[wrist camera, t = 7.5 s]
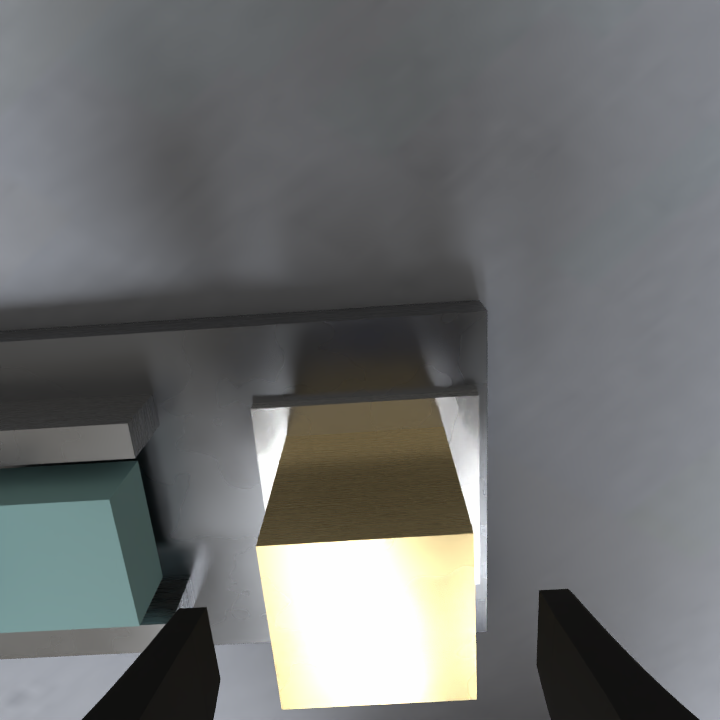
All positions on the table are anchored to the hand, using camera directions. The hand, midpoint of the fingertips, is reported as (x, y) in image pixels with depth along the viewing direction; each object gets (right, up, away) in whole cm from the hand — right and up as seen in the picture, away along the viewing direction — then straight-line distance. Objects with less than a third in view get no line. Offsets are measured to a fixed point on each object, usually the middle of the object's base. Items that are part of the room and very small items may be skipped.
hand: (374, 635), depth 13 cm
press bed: (-6, +2, +7) cm, 9 cm away
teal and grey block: (-9, +1, +5) cm, 11 cm away
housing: (0, +2, +5) cm, 5 cm away
